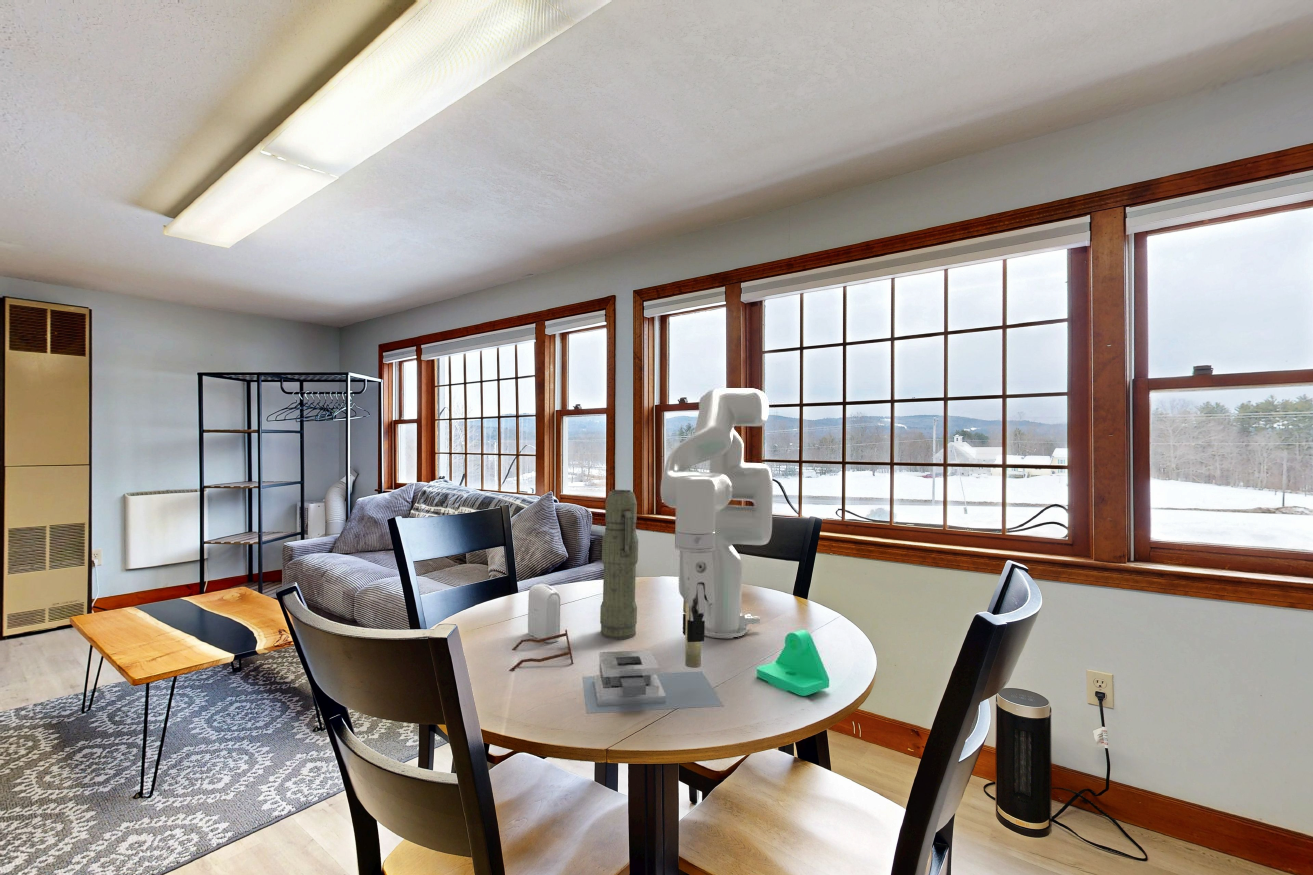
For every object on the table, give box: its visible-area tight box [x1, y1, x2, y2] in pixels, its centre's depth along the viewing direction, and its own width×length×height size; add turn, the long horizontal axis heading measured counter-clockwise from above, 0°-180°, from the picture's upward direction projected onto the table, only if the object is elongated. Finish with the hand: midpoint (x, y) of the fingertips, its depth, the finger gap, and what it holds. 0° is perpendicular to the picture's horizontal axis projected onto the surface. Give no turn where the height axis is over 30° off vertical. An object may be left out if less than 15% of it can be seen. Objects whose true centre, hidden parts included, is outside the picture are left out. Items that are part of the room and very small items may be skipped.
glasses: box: [508, 629, 574, 672], centre depth 126 cm, size 13×13×5 cm
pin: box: [684, 601, 702, 669], centre depth 111 cm, size 4×4×15 cm
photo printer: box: [527, 583, 561, 644], centre depth 140 cm, size 10×4×12 cm, turn 39°
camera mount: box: [756, 629, 830, 697], centre depth 114 cm, size 12×8×10 cm, turn 37°
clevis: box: [593, 649, 666, 706], centre depth 107 cm, size 12×14×6 cm
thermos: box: [599, 489, 639, 640], centre depth 144 cm, size 9×12×35 cm
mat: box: [582, 671, 725, 714], centre depth 109 cm, size 24×16×1 cm, turn 100°
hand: (693, 636), depth 111 cm, fingers closed on pin, 3 cm apart
